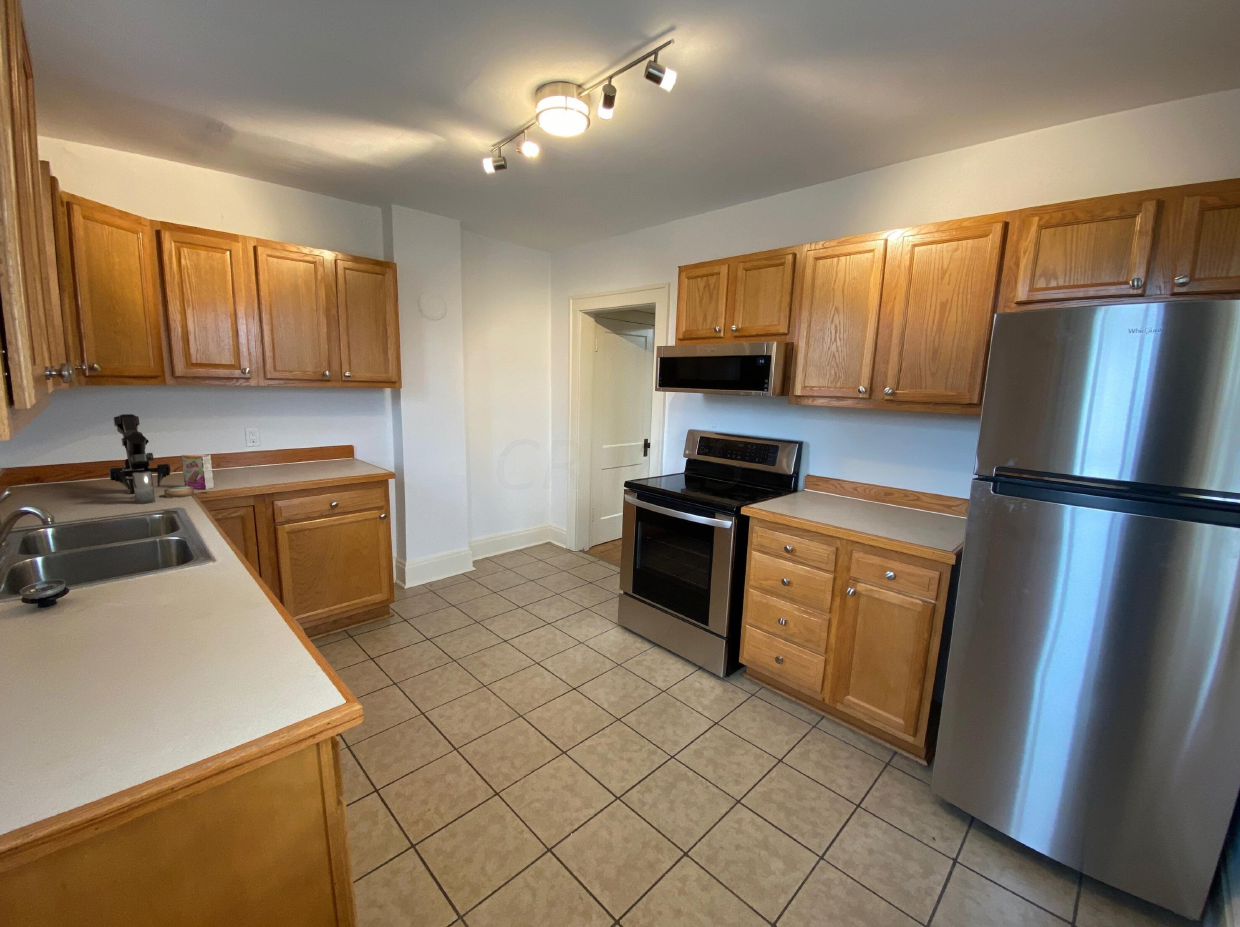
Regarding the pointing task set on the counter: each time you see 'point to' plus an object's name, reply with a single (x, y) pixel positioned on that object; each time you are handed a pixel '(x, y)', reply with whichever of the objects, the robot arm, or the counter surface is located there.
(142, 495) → the grey tin
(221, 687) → the counter surface
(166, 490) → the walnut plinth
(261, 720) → the counter surface
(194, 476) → the candy bar box
